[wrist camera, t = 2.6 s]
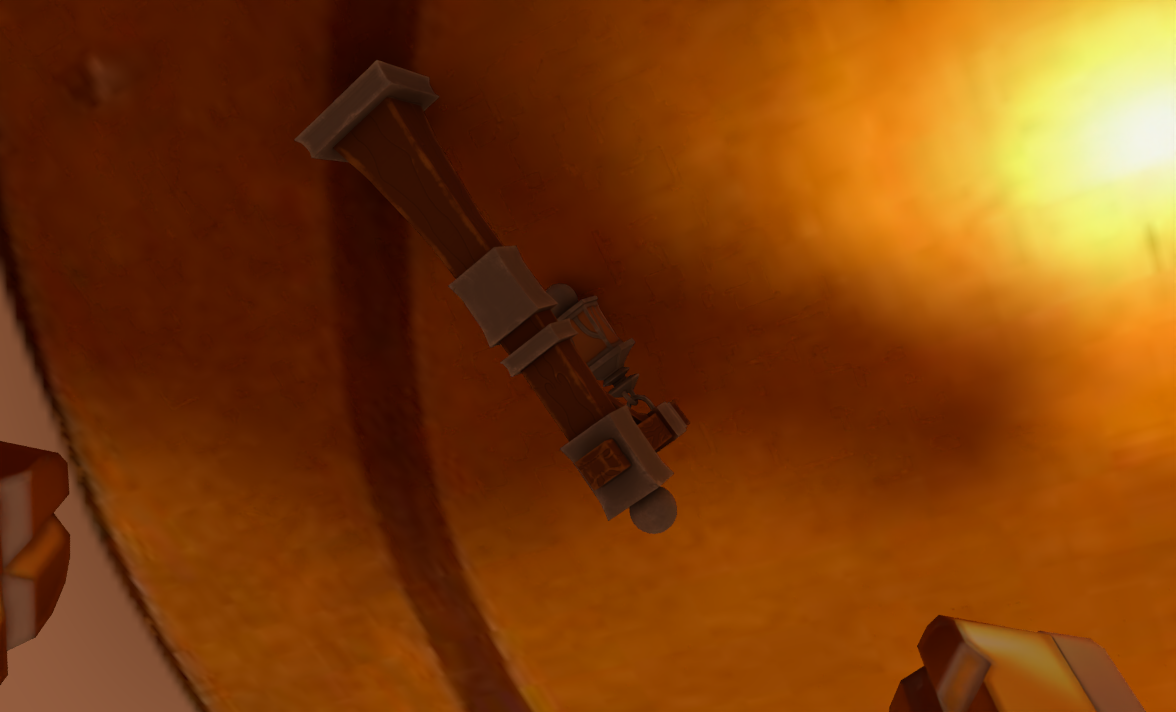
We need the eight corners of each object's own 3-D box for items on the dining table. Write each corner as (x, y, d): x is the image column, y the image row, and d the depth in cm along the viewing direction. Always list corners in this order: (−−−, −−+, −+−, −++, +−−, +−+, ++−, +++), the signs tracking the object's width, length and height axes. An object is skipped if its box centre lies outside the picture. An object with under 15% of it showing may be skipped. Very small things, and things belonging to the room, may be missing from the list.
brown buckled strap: (666, 496, 18) (607, 579, 14) (417, 158, 19) (285, 138, 15) (744, 442, 18) (707, 511, 14) (485, 95, 18) (370, 56, 14)
